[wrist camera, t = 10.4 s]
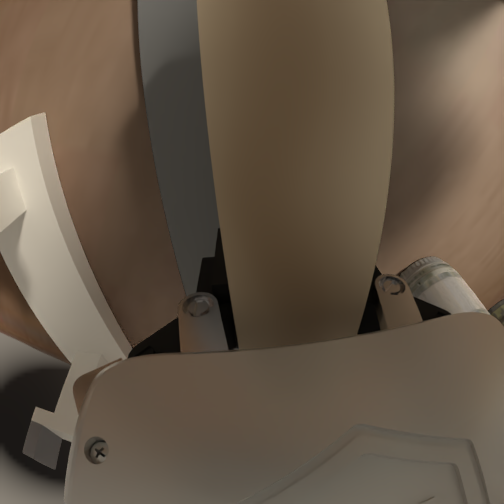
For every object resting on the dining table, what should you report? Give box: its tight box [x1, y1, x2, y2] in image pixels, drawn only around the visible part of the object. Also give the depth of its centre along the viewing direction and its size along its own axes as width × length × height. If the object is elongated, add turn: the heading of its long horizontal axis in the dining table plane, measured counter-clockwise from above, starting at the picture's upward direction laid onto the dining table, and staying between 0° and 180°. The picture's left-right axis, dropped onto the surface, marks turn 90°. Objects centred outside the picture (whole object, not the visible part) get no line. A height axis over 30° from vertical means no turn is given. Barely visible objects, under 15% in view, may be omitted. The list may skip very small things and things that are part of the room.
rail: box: [197, 0, 394, 349], centre depth 10 cm, size 4×24×4 cm, turn 4°
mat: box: [138, 0, 239, 350], centre depth 15 cm, size 12×30×1 cm, turn 4°
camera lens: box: [400, 257, 490, 315], centre depth 16 cm, size 6×6×8 cm
